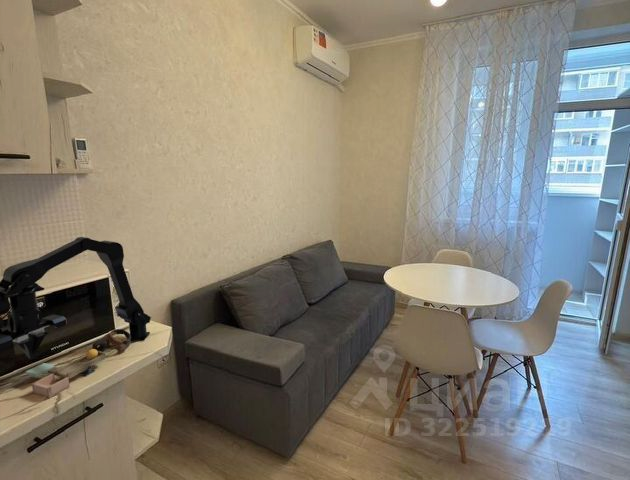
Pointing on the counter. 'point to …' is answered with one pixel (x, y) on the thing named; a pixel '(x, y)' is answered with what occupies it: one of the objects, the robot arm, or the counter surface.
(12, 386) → the counter surface
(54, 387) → the dish
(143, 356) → the counter surface
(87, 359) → the lever
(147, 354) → the counter surface
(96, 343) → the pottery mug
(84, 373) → the fulcrum
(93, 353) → the ball
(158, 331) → the counter surface
